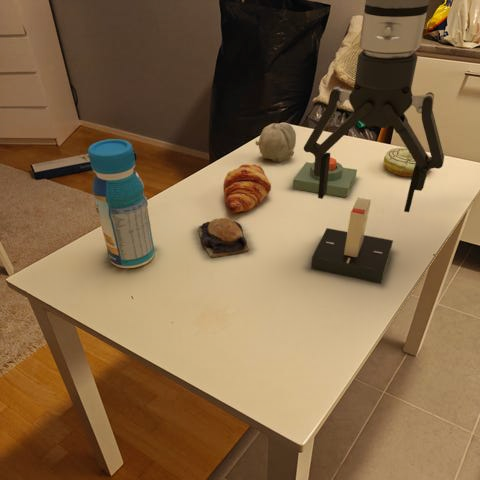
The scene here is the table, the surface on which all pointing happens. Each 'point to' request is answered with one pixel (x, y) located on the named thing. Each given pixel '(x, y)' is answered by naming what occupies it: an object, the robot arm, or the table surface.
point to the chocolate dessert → (222, 237)
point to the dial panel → (362, 267)
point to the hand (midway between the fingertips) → (363, 201)
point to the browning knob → (357, 227)
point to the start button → (332, 164)
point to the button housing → (336, 184)
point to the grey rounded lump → (277, 142)
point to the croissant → (245, 187)
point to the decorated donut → (400, 162)
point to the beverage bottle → (121, 203)
